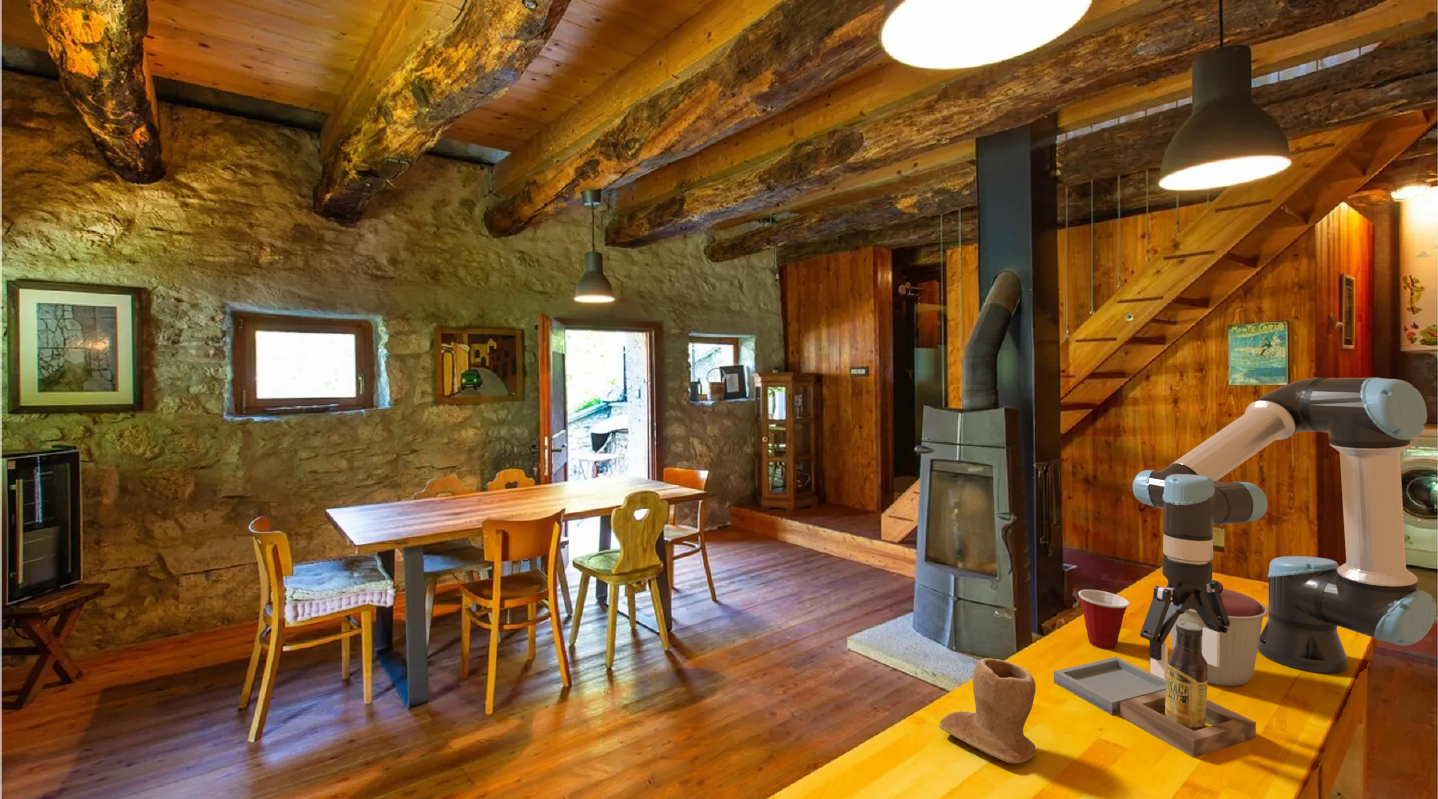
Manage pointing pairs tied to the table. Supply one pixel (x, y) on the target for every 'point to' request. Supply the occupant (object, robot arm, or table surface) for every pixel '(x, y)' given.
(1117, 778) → the table surface
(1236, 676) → the canister
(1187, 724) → the sauce bottle
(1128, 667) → the tray
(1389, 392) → the robot arm
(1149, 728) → the bottle stand
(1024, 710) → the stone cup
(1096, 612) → the plastic cup
